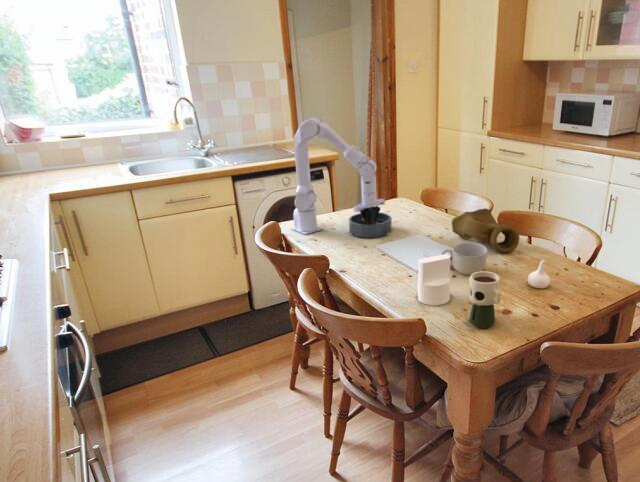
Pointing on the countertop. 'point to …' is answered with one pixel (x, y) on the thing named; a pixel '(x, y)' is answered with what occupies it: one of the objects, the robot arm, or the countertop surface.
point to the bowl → (370, 226)
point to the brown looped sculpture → (485, 230)
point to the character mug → (484, 297)
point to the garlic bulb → (539, 277)
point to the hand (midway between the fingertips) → (370, 225)
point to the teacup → (467, 257)
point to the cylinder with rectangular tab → (434, 280)
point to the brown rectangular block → (371, 222)
